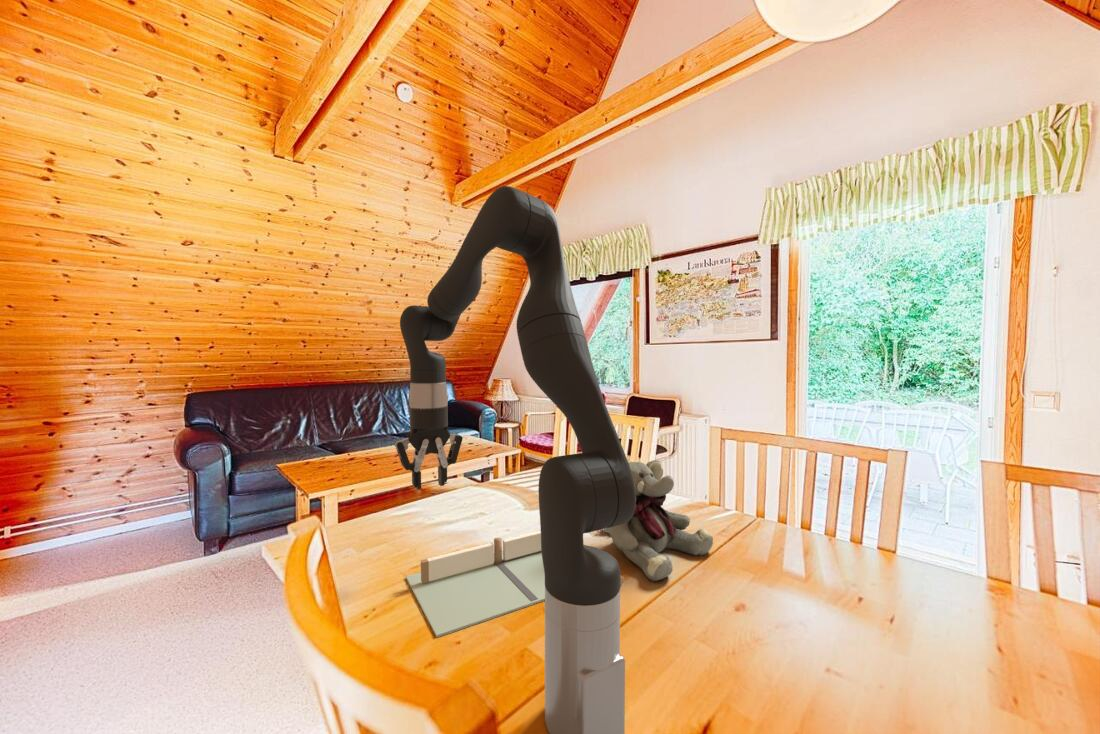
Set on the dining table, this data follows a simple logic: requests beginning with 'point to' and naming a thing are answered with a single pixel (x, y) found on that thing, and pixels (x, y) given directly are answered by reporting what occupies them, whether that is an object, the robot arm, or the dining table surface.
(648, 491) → the plush elephant
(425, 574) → the gate
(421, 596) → the board
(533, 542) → the fence fixed
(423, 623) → the dining table surface
